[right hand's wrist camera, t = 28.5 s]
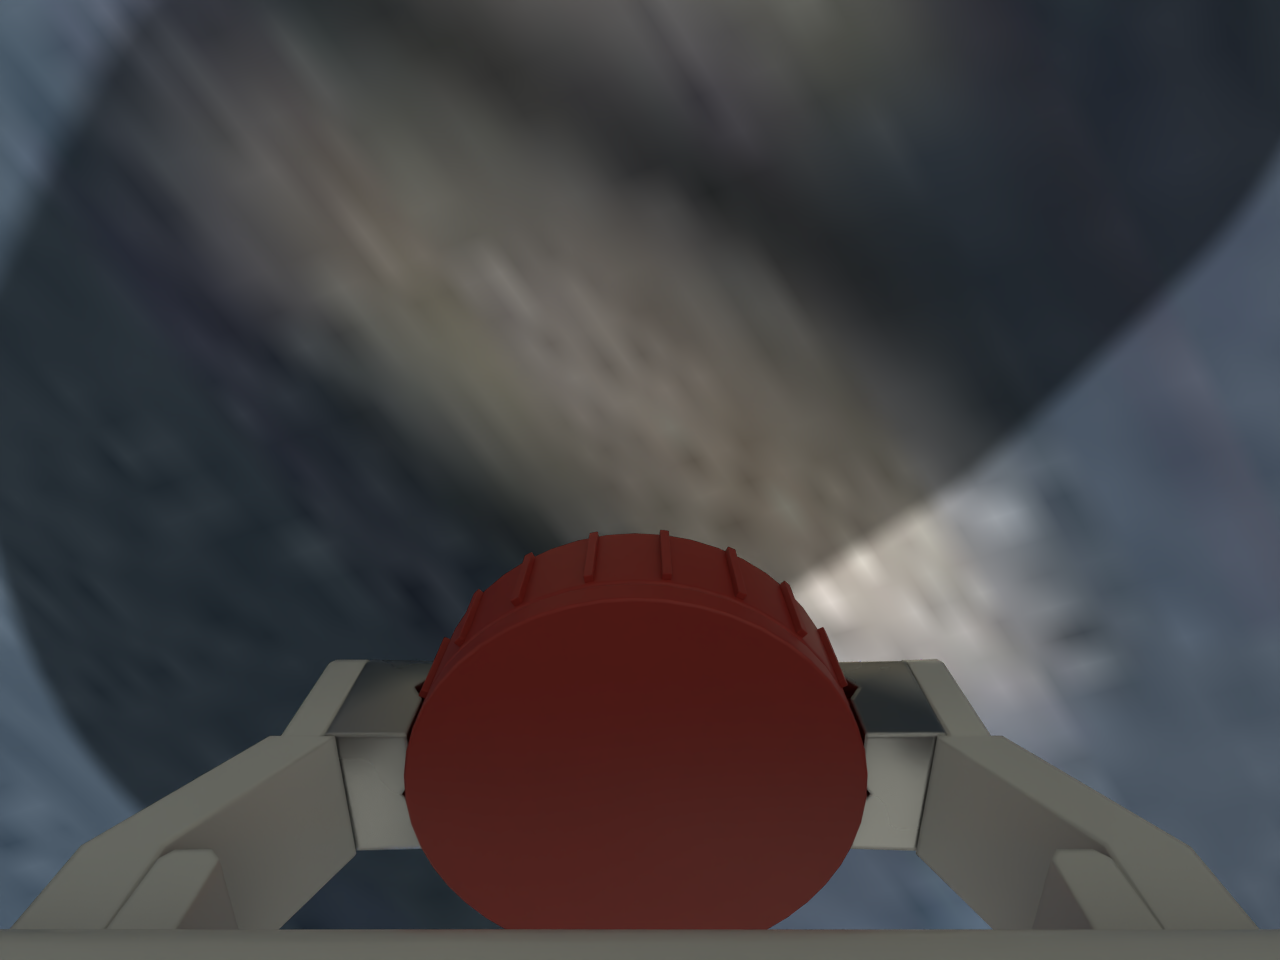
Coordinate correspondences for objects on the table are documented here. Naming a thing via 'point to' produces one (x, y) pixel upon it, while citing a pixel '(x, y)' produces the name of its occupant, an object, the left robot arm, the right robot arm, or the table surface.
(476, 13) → the table surface
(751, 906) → the lid
